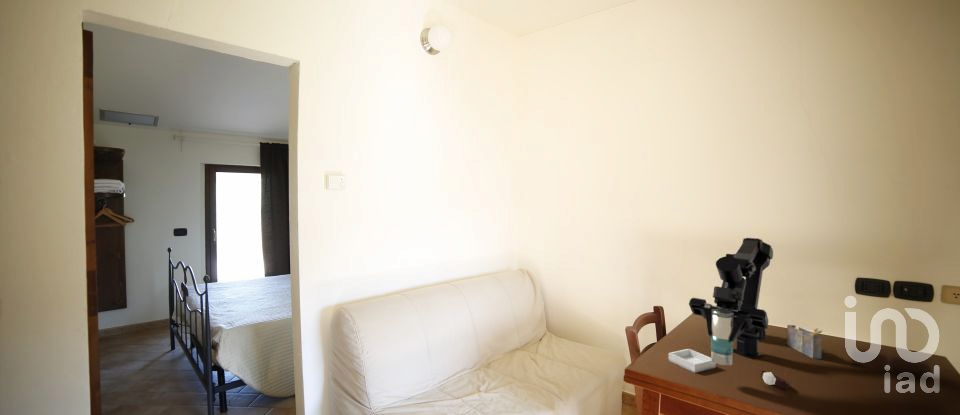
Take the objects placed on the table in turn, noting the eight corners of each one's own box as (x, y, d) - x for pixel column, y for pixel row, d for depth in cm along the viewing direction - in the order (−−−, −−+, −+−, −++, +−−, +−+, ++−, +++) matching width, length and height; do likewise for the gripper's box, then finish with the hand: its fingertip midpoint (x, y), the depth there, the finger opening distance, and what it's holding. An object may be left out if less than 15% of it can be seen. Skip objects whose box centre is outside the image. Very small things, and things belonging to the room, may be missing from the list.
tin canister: (718, 356, 108) (719, 308, 108) (736, 363, 103) (737, 313, 103) (706, 359, 106) (707, 310, 106) (724, 366, 101) (725, 315, 101)
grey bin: (688, 356, 123) (688, 348, 123) (715, 367, 114) (715, 359, 114) (668, 360, 119) (668, 352, 119) (694, 372, 111) (694, 364, 111)
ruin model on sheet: (822, 360, 121) (823, 330, 121) (812, 359, 122) (813, 330, 121) (795, 346, 133) (796, 319, 132) (786, 346, 133) (787, 319, 133)
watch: (755, 378, 108) (755, 366, 108) (770, 377, 108) (770, 365, 108) (779, 391, 100) (779, 378, 100) (794, 391, 101) (795, 378, 101)
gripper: (691, 271, 114) (677, 314, 107) (767, 281, 100) (757, 331, 93) (699, 292, 119) (686, 334, 112) (772, 304, 106) (763, 353, 98)
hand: (720, 337), depth 104 cm, fingers closed on tin canister, 5 cm apart
